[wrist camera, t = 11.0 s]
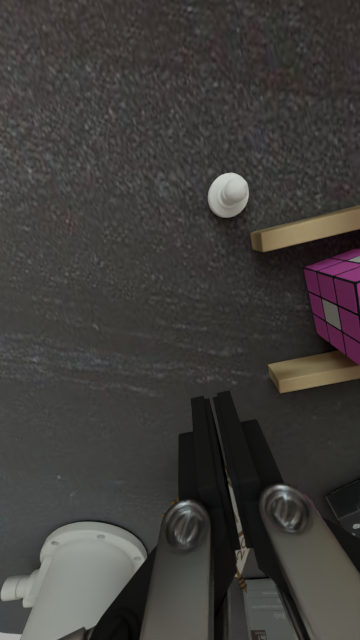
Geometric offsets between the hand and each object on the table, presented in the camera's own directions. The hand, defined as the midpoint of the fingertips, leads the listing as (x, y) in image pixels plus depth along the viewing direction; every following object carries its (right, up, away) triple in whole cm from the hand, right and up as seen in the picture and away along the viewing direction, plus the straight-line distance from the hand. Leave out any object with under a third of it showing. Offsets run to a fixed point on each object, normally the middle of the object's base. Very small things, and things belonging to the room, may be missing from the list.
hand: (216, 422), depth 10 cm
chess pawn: (+2, +13, +6) cm, 14 cm away
